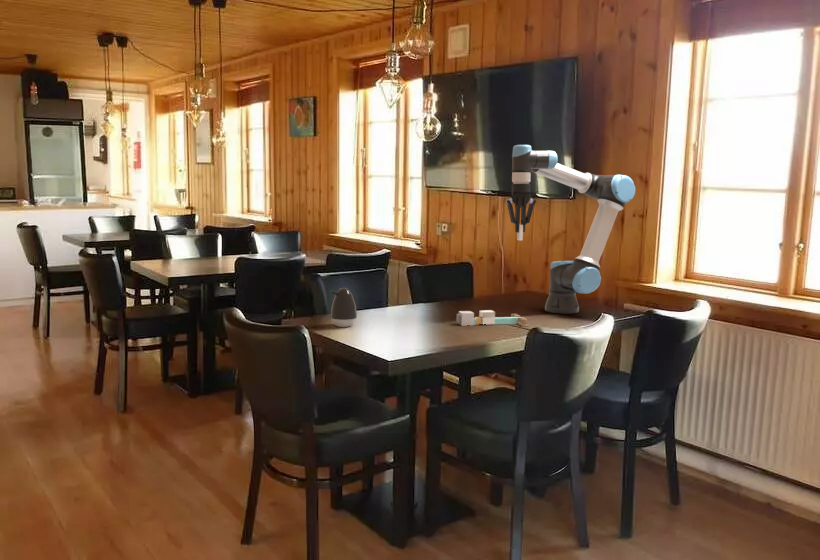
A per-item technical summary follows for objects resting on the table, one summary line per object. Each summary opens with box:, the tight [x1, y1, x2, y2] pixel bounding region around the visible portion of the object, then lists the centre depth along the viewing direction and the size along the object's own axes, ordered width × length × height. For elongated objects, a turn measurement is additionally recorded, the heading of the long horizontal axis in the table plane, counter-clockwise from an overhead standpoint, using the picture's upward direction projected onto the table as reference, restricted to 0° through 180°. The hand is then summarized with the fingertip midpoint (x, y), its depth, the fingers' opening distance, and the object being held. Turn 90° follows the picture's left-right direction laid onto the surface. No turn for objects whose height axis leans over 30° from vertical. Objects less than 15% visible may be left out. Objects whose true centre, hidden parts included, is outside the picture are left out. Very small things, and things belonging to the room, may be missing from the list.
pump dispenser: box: [330, 287, 358, 328], centre depth 279 cm, size 10×10×15 cm
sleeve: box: [478, 309, 496, 326], centre depth 289 cm, size 5×5×5 cm
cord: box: [456, 310, 518, 327], centre depth 289 cm, size 27×5×5 cm, turn 101°
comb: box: [510, 313, 529, 327], centre depth 292 cm, size 2×14×3 cm, turn 11°
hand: (519, 240), depth 296 cm, fingers closed
